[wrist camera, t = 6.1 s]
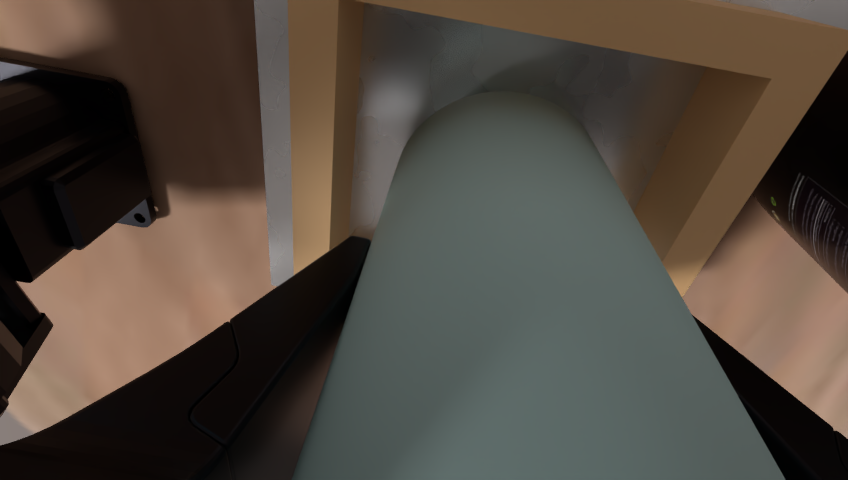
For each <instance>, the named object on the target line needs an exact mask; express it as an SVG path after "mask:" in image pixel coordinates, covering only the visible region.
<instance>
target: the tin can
mask: <svg viewBox="0 0 848 480" xmlns="http://www.w3.org/2000/svg"><path fill="white" fill-rule="evenodd" d="M292 480H785V478H784V476H783V474H782V473H781V471H780V469H779V467H778V466H777V464H776V462H775V460H774V458H773V457H772V455H771V453H770V451H769V450H768V448H767V446H766V444H765V443H764V441H763V439H762V437H761V436H760V434H759V432H758V430H757V429H756V427H755V425H754V423H753V422H752V420H751V418H750V416H749V415H748V413H747V411H746V409H745V408H744V406H743V404H742V402H741V401H740V399H739V397H738V395H737V393H736V392H735V390H734V388H733V386H732V385H731V383H730V381H729V379H728V378H727V376H726V374H725V372H724V371H723V369H722V367H721V365H720V364H719V362H718V360H717V358H716V357H715V355H714V353H713V351H712V350H711V348H710V346H709V344H708V343H707V341H706V339H705V337H704V335H703V334H702V332H701V330H700V328H699V327H698V325H697V323H696V321H695V320H694V318H693V316H692V314H691V313H690V311H689V309H688V307H687V306H686V304H685V302H684V300H683V299H682V297H681V295H680V293H679V292H678V290H677V288H676V286H675V285H674V283H673V281H672V279H671V277H670V276H669V274H668V272H667V270H666V269H665V267H664V265H663V263H662V262H661V260H660V258H659V256H658V255H657V253H656V251H655V249H654V248H653V246H652V244H651V242H650V241H649V239H648V237H647V235H646V234H645V232H644V230H643V228H642V227H641V225H640V223H639V221H638V220H637V218H636V216H635V214H634V212H633V211H632V209H631V207H630V205H629V204H628V202H627V200H626V198H625V197H624V195H623V193H622V191H621V190H620V188H619V186H618V184H617V183H616V181H615V179H614V177H613V176H612V174H611V172H610V170H609V169H608V167H607V165H606V163H605V162H604V160H603V158H602V156H601V154H600V153H599V151H598V149H597V147H596V146H595V144H594V142H593V140H592V139H591V137H590V136H589V134H588V133H587V131H586V130H585V128H584V127H583V126H582V125H581V124H580V123H579V122H578V121H577V120H576V119H575V118H574V117H573V116H572V115H571V114H569V113H568V112H567V111H566V110H564V109H562V108H561V107H559V106H557V105H556V104H554V103H552V102H550V101H547V100H545V99H543V98H540V97H537V96H533V95H529V94H526V93H519V92H510V91H494V92H486V93H480V94H475V95H472V96H468V97H465V98H462V99H459V100H457V101H455V102H452V103H450V104H448V105H446V106H445V107H443V108H441V109H440V110H438V111H436V112H435V113H434V114H433V115H431V116H430V117H429V118H427V119H426V120H425V121H424V122H423V123H422V124H421V125H420V126H419V127H418V128H417V129H416V130H415V132H414V133H413V135H412V136H411V137H410V139H409V140H408V142H407V143H406V145H405V147H404V149H403V151H402V153H401V156H400V159H399V161H398V164H397V167H396V170H395V173H394V176H393V179H392V182H391V185H390V188H389V191H388V194H387V197H386V200H385V203H384V206H383V209H382V212H381V215H380V218H379V221H378V224H377V227H376V230H375V233H374V236H373V238H372V241H371V244H370V247H369V250H368V253H367V256H366V259H365V262H364V265H363V268H362V271H361V274H360V277H359V280H358V283H357V286H356V289H355V292H354V295H353V298H352V301H351V304H350V307H349V310H348V313H347V316H346V319H345V322H344V325H343V328H342V331H341V334H340V337H339V340H338V343H337V346H336V349H335V352H334V355H333V358H332V361H331V364H330V367H329V369H328V372H327V375H326V378H325V381H324V384H323V387H322V390H321V393H320V396H319V399H318V402H317V405H316V408H315V411H314V414H313V417H312V420H311V423H310V426H309V429H308V432H307V435H306V438H305V441H304V444H303V447H302V450H301V453H300V456H299V459H298V462H297V465H296V468H295V471H294V474H293V477H292Z"/></svg>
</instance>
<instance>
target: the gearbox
mask: <svg viewBox="0 0 848 480" xmlns="http://www.w3.org/2000/svg"><path fill="white" fill-rule="evenodd" d="M254 11H255V27H256V43H257V59H258V76H259V92H260V108H261V124H262V141H263V157H264V173H265V189H266V206H267V222H268V238H269V254H270V271H271V285H274V286H279V285H281V284H282V283H283V282H285V281H286V280H288V279H289V278H291V277H292V276H293V275H295V274H296V273H298V272H299V271H301V270H302V269H304V268H305V267H306V266H308V265H309V264H311V263H312V262H314V261H315V260H316V259H318V258H319V257H321V256H322V255H324V254H325V253H327V252H328V251H329V250H331V249H332V248H334V247H335V246H337V245H338V244H339V243H341V242H342V241H344V240H345V239H347V238H348V237H350V236H358V237H364V238H368V239H370V241H372V238H373V236H374V233H375V230H376V227H377V224H378V221H379V218H380V215H381V212H382V209H383V206H384V203H385V200H386V197H387V194H388V191H389V188H390V185H391V182H392V179H393V176H394V173H395V170H396V167H397V164H398V161H399V159H400V156H401V153H402V151H403V149H404V147H405V145H406V143H407V142H408V140H409V139H410V137H411V136H412V135H413V133H414V132H415V130H416V129H417V128H418V127H419V126H420V125H421V124H422V123H423V122H424V121H425V120H426V119H427V118H429V117H430V116H431V115H433V114H434V113H435V112H436V111H438V110H440V109H441V108H443V107H445V106H446V105H448V104H450V103H452V102H455V101H457V100H459V99H462V98H465V97H468V96H472V95H475V94H480V93H486V92H494V91H510V92H519V93H526V94H529V95H533V96H537V97H540V98H543V99H545V100H547V101H550V102H552V103H554V104H556V105H557V106H559V107H561V108H562V109H564V110H566V111H567V112H568V113H569V114H571V115H572V116H573V117H574V118H575V119H576V120H577V121H578V122H579V123H580V124H581V125H582V126H583V127H584V128H585V130H586V131H587V133H588V134H589V136H590V137H591V139H592V140H593V142H594V144H595V146H596V147H597V149H598V151H599V153H600V154H601V156H602V158H603V160H604V162H605V163H606V165H607V167H608V169H609V170H610V172H611V174H612V176H613V177H614V179H615V181H616V183H617V184H618V186H619V188H620V190H621V191H622V193H623V195H624V197H625V198H626V200H627V202H628V204H629V205H630V207H631V209H632V211H633V212H634V214H635V216H636V218H637V220H638V221H639V223H640V225H641V227H642V228H643V230H644V232H645V234H646V235H647V237H648V239H649V241H650V242H651V244H652V246H653V248H654V249H655V251H656V253H657V255H658V256H659V258H660V260H661V262H662V263H663V265H664V267H665V269H666V270H667V272H668V274H669V276H670V277H671V279H672V281H673V283H674V285H675V286H676V288H677V290H678V292H679V293H680V295H681V297H683V296H684V294H685V293H686V291H687V290H688V288H689V287H690V285H691V284H692V282H693V281H694V279H695V278H696V276H697V275H698V273H699V272H700V270H701V269H702V267H703V266H704V264H705V263H706V261H707V260H708V258H709V257H710V255H711V254H712V252H713V251H714V249H715V248H716V246H717V245H718V243H719V242H720V240H721V239H722V237H723V236H724V234H725V233H726V231H727V230H728V228H729V227H730V225H731V224H732V222H733V221H734V219H735V218H736V216H737V215H738V213H739V212H740V210H741V209H742V207H743V206H744V205H745V203H746V202H747V200H748V199H749V197H750V196H751V194H752V193H753V191H754V190H755V188H756V187H757V185H758V184H759V182H760V181H761V179H762V178H763V176H764V175H765V173H766V172H767V170H768V169H769V167H770V166H771V164H772V163H773V161H774V160H775V158H776V157H777V155H778V154H779V152H780V151H781V149H782V148H783V146H784V145H785V143H786V142H787V140H788V139H789V137H790V136H791V134H792V133H793V131H794V130H795V128H796V127H797V125H798V124H799V122H800V121H801V119H802V118H803V116H804V115H805V113H806V112H807V110H808V109H809V107H810V106H811V105H812V103H813V102H814V100H815V99H816V97H817V96H818V94H819V93H820V91H821V90H822V88H823V87H824V85H825V84H826V82H827V81H828V79H829V78H830V76H831V75H832V73H833V72H834V70H835V69H836V67H837V66H838V64H839V63H840V61H841V60H842V58H843V57H844V55H845V54H846V52H847V51H848V0H254Z"/></svg>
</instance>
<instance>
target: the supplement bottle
mask: <svg viewBox="0 0 848 480" xmlns="http://www.w3.org/2000/svg"><path fill="white" fill-rule="evenodd" d="M753 194H754V196H755V198H756V199H757V201H758V202H759V203H760V205H761V206H762V207H763V208H764V209H765V210H766V211H767V212H768V214H769V215H770V216H771V217H772V218H773V219H774V220H775V221H776V222H777V223H778V224H779V225H780V226H781V227H782V228H783V229H784V230H785V231H786V232H787V233H788V234H789V235H790V236H791V237H792V238H793V239H794V240H795V241H796V242H797V243H798V244H799V245H800V246H801V247H802V248H803V249H804V250H805V251H806V252H807V253H808V254H809V255H810V256H811V257H812V258H813V259H814V260H815V261H816V262H817V263H818V264H819V265H820V266H821V267H822V268H823V269H824V270H825V271H826V272H827V273H828V274H829V275H830V276H831V277H832V278H833V279H834V280H835V281H836V282H837V283H838V284H839V285H840V286H841V287H842V288H843V289H844V290H845V291H846V292H847V293H848V51H847V52H846V54H845V55H844V57H843V58H842V60H841V61H840V63H839V64H838V66H837V67H836V69H835V70H834V72H833V73H832V75H831V76H830V78H829V79H828V81H827V82H826V84H825V85H824V87H823V88H822V90H821V91H820V93H819V94H818V96H817V97H816V99H815V100H814V102H813V103H812V105H811V106H810V107H809V109H808V110H807V112H806V113H805V115H804V116H803V118H802V119H801V121H800V122H799V124H798V125H797V127H796V128H795V130H794V131H793V133H792V134H791V136H790V137H789V139H788V140H787V142H786V143H785V145H784V146H783V148H782V149H781V151H780V152H779V154H778V155H777V157H776V158H775V160H774V161H773V163H772V164H771V166H770V167H769V169H768V170H767V172H766V173H765V175H764V176H763V178H762V179H761V181H760V182H759V184H758V185H757V187H756V188H755V190H754V191H753Z"/></svg>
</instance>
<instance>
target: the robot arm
mask: <svg viewBox="0 0 848 480" xmlns="http://www.w3.org/2000/svg"><path fill="white" fill-rule="evenodd" d="M108 89H110V90H111V91H112V92H113V94H114V97H113V96H112V95H111V94H110V93H109V91H108ZM141 214H142V215H143V216H144V217H143V216H142V215H141ZM155 220H156V212H155V208H154V204H153V199H152V195H151V189H150V185H149V180H148V176H147V172H146V168H145V163H144V159H143V155H142V150H141V146H140V142H139V139H138V135H137V131H136V127H135V122H134V118H133V114H132V110H131V105H130V101H129V97H128V93H127V91H126V88H125V87H124V86H123V85H122V84H121V83H120V82H119V81H117V80H115V79H113V78H109V77H103V76H98V75H93V74H87V73H82V72H77V71H71V70H66V69H60V68H55V67H50V66H44V65H39V64H34V63H28V62H23V61H17V60H12V59H7V58H1V57H0V417H1V416H2V415H3V413H4V411H5V410H6V408H7V406H8V404H9V403H8V398H9V397H10V395H11V393H12V392H13V390H14V388H15V387H16V385H17V384H18V382H19V380H20V379H21V377H22V376H23V374H24V372H25V371H26V369H27V368H28V366H29V364H30V363H31V361H32V360H33V358H34V356H35V355H36V353H37V351H38V350H39V348H40V347H41V345H42V343H43V342H44V340H45V339H46V337H47V335H48V334H49V332H50V331H51V329H52V327H53V324H52V322H51V321H50V320H49V318H48V317H47V316H46V314H45V313H40V312H39V310H38V309H37V308H36V307H35V305H34V304H33V303H32V301H31V300H30V299H29V298H28V296H27V295H26V294H25V292H24V291H23V290H22V288H21V287H20V286H19V285H18V283H17V282H16V281H20V282H26V283H31V282H32V281H34V280H35V279H36V278H37V277H39V276H40V275H41V274H43V273H44V272H45V271H46V270H48V269H49V268H50V267H52V266H53V265H54V264H55V263H57V262H58V261H59V260H60V259H62V258H63V257H64V256H66V255H67V254H68V253H69V252H71V251H72V250H73V249H77V250H82V249H84V248H85V247H86V246H88V245H89V244H90V243H91V242H93V241H94V240H95V239H96V238H98V237H99V236H100V235H101V234H103V233H104V232H105V231H106V230H108V229H109V228H110V227H111V226H113V225H114V224H115V223H121V224H127V225H132V226H138V227H148V226H150V225H151V224H152V223H153V222H154V221H155ZM370 244H371V241H370V239H368V238H364V237H358V236H350V237H348V238H347V239H345V240H344V241H342V242H341V243H339V244H338V245H337V246H335V247H334V248H332V249H331V250H329V251H328V252H327V253H325V254H324V255H322V256H321V257H319V258H318V259H316V260H315V261H314V262H312V263H311V264H309V265H308V266H306V267H305V268H304V269H302V270H301V271H299V272H298V273H296V274H295V275H293V276H292V277H291V278H289V279H288V280H286V281H285V282H283V283H282V284H281V285H279V286H278V287H276V288H275V289H273V290H272V291H270V292H269V293H268V294H266V295H265V296H263V297H262V298H260V299H259V300H258V301H256V302H255V303H253V304H252V305H250V306H249V307H247V308H246V309H245V310H243V311H242V312H240V313H239V314H237V315H236V316H235V317H233V318H232V319H231V320H230V322H226V323H224V324H223V325H221V326H220V327H218V328H217V329H216V330H214V331H213V332H211V333H210V334H208V335H207V336H205V337H204V338H202V339H201V340H199V341H198V342H196V343H195V344H193V345H192V346H190V347H189V348H187V349H185V350H184V351H182V352H181V353H179V354H177V355H176V356H174V357H172V358H171V359H169V360H167V361H166V362H164V363H162V364H161V365H159V366H157V367H155V368H154V369H152V370H150V371H149V372H147V373H145V374H143V375H142V376H140V377H138V378H136V379H135V380H133V381H131V382H129V383H128V384H126V385H124V386H122V387H120V388H119V389H117V390H115V391H113V392H112V393H110V394H108V395H106V396H105V397H103V398H101V399H99V400H98V401H96V402H94V403H92V404H90V405H89V406H87V407H85V408H83V409H82V410H80V411H78V412H76V413H75V414H73V415H71V416H69V417H68V418H66V419H64V420H62V421H60V422H58V423H56V424H54V425H53V426H51V427H49V428H46V429H44V430H42V431H40V432H37V433H35V434H33V435H30V436H28V437H25V438H22V439H20V440H17V441H14V442H11V443H8V444H4V445H1V446H0V480H292V477H293V474H294V471H295V468H296V465H297V462H298V459H299V456H300V453H301V450H302V447H303V444H304V441H305V438H306V435H307V432H308V429H309V426H310V423H311V420H312V417H313V414H314V411H315V408H316V405H317V402H318V399H319V396H320V393H321V390H322V387H323V384H324V381H325V378H326V375H327V372H328V369H329V367H330V364H331V361H332V358H333V355H334V352H335V349H336V346H337V343H338V340H339V337H340V334H341V331H342V328H343V325H344V322H345V319H346V316H347V313H348V310H349V307H350V304H351V301H352V298H353V295H354V292H355V289H356V286H357V283H358V280H359V277H360V274H361V271H362V268H363V265H364V262H365V259H366V256H367V253H368V250H369V247H370ZM692 316H693V315H692ZM693 318H694V320H695V321H696V323H697V325H698V327H699V328H700V330H701V332H702V334H703V335H704V337H705V339H706V341H707V343H708V344H709V346H710V348H711V350H712V351H713V353H714V355H715V357H716V358H717V360H718V362H719V364H720V365H721V367H722V369H723V371H724V372H725V374H726V376H727V378H728V379H729V381H730V383H731V385H732V386H733V388H734V390H735V392H736V393H737V395H738V397H739V399H740V401H741V402H742V404H743V406H744V408H745V409H746V411H747V413H748V415H749V416H750V418H751V420H752V422H753V423H754V425H755V427H756V429H757V430H758V432H759V434H760V436H761V437H762V439H763V441H764V443H765V444H766V446H767V448H768V450H769V451H770V453H771V455H772V457H773V458H774V460H775V462H776V464H777V466H778V467H779V469H780V471H781V473H782V474H783V476H784V478H785V480H848V439H847V438H846V437H844V436H843V435H842V434H841V433H839V432H838V431H834V430H833V427H832V426H830V425H829V424H828V423H827V422H825V421H824V420H823V419H822V418H820V417H819V416H818V415H817V414H815V413H814V412H813V411H812V410H810V409H809V408H808V407H807V406H805V405H804V404H803V403H802V402H800V401H799V400H798V399H797V398H795V397H794V396H793V395H792V394H790V393H789V392H788V391H787V390H785V389H784V388H783V387H782V386H780V385H779V384H778V383H777V382H775V381H774V380H773V379H772V378H770V377H769V376H768V375H767V374H765V373H764V372H763V371H762V370H760V369H759V368H758V367H757V366H755V365H754V364H753V363H752V362H750V361H749V360H748V359H747V358H745V357H744V356H743V355H742V354H740V353H739V352H738V351H737V350H735V349H734V348H733V347H732V346H730V345H729V344H728V343H727V342H725V341H724V340H723V339H722V338H720V337H719V336H718V335H717V334H715V333H714V332H713V331H712V330H710V329H709V328H708V327H707V326H705V325H704V324H703V323H702V322H700V321H699V320H698V319H697V318H695V317H694V316H693Z"/></svg>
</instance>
